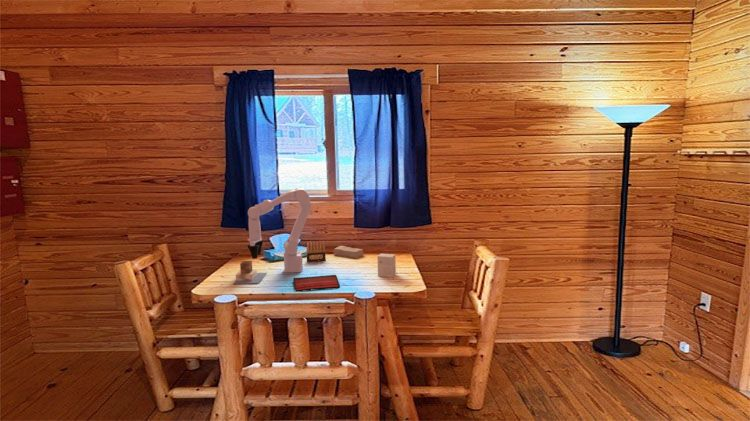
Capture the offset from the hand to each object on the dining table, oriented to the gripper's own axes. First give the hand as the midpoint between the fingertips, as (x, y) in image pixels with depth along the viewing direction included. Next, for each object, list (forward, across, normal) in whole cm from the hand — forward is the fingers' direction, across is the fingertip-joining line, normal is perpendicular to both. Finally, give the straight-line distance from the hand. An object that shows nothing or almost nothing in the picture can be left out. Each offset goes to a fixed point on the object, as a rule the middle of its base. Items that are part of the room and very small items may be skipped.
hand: (256, 256), depth 214 cm
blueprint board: (+9, +8, -2) cm, 13 cm away
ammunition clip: (+10, -22, +28) cm, 37 cm away
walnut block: (+6, +8, -3) cm, 11 cm away
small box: (+10, +8, +66) cm, 68 cm away
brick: (+10, -33, +46) cm, 58 cm away
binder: (+10, +19, +32) cm, 39 cm away
